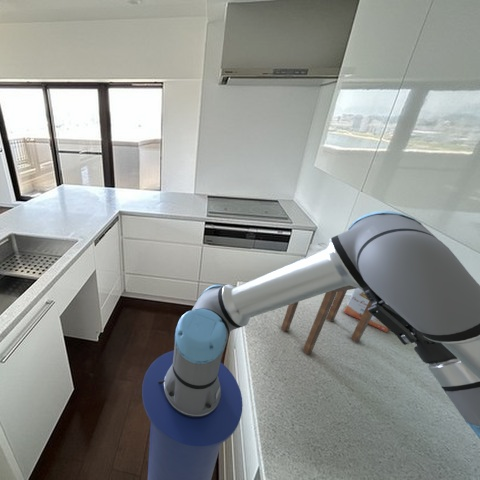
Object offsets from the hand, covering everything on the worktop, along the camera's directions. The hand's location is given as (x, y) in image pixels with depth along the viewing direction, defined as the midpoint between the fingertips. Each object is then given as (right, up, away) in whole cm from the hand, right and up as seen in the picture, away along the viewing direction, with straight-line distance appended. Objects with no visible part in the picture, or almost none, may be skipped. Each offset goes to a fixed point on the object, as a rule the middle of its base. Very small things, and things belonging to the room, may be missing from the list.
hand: (380, 274), depth 67 cm
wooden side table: (-2, -24, +23) cm, 34 cm away
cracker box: (+22, -22, +32) cm, 44 cm away
